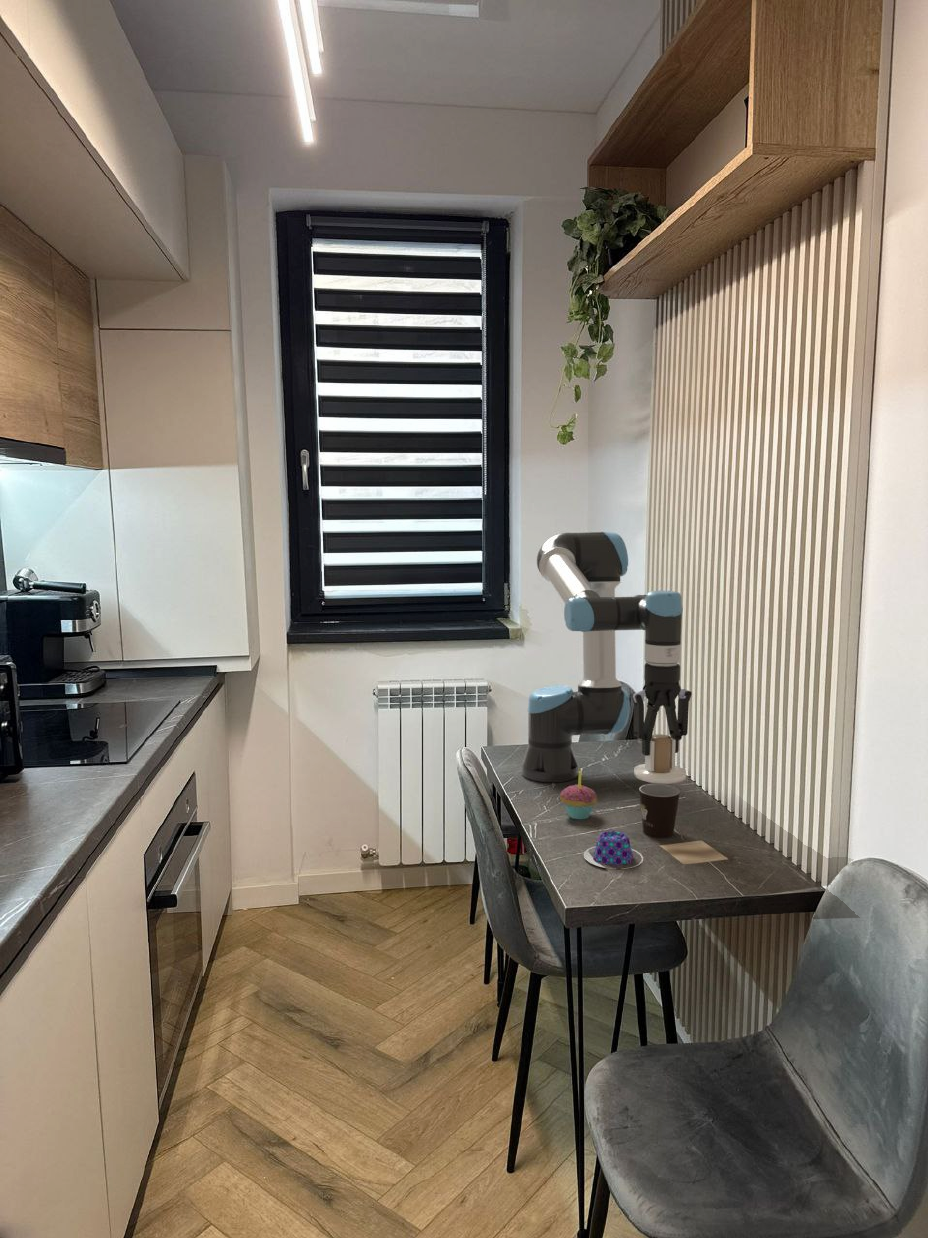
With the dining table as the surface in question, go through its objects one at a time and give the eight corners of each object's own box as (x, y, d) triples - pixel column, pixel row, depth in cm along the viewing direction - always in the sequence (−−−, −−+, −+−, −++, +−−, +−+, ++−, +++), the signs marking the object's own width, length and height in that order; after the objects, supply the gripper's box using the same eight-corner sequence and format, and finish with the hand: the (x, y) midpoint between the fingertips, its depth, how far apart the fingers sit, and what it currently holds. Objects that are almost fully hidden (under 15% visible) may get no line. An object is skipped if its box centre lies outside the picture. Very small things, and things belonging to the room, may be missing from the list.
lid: (625, 770, 188) (626, 732, 187) (669, 766, 191) (670, 729, 190) (649, 785, 178) (649, 745, 176) (695, 781, 180) (696, 741, 179)
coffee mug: (679, 843, 180) (680, 798, 178) (638, 840, 181) (639, 795, 180) (676, 823, 191) (678, 780, 190) (638, 821, 193) (639, 778, 191)
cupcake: (600, 822, 192) (601, 771, 190) (563, 823, 192) (563, 771, 190) (592, 808, 200) (593, 760, 199) (557, 809, 200) (557, 760, 198)
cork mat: (659, 847, 177) (659, 845, 177) (701, 842, 180) (701, 840, 180) (684, 866, 168) (684, 864, 168) (728, 860, 170) (728, 859, 170)
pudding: (620, 878, 163) (620, 852, 163) (571, 860, 172) (571, 835, 171) (654, 860, 172) (655, 835, 171) (607, 843, 180) (607, 820, 180)
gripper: (633, 668, 175) (631, 777, 178) (707, 663, 180) (704, 770, 183) (617, 662, 182) (615, 766, 185) (689, 658, 187) (686, 760, 190)
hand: (659, 768), depth 184 cm, fingers closed on lid, 4 cm apart
